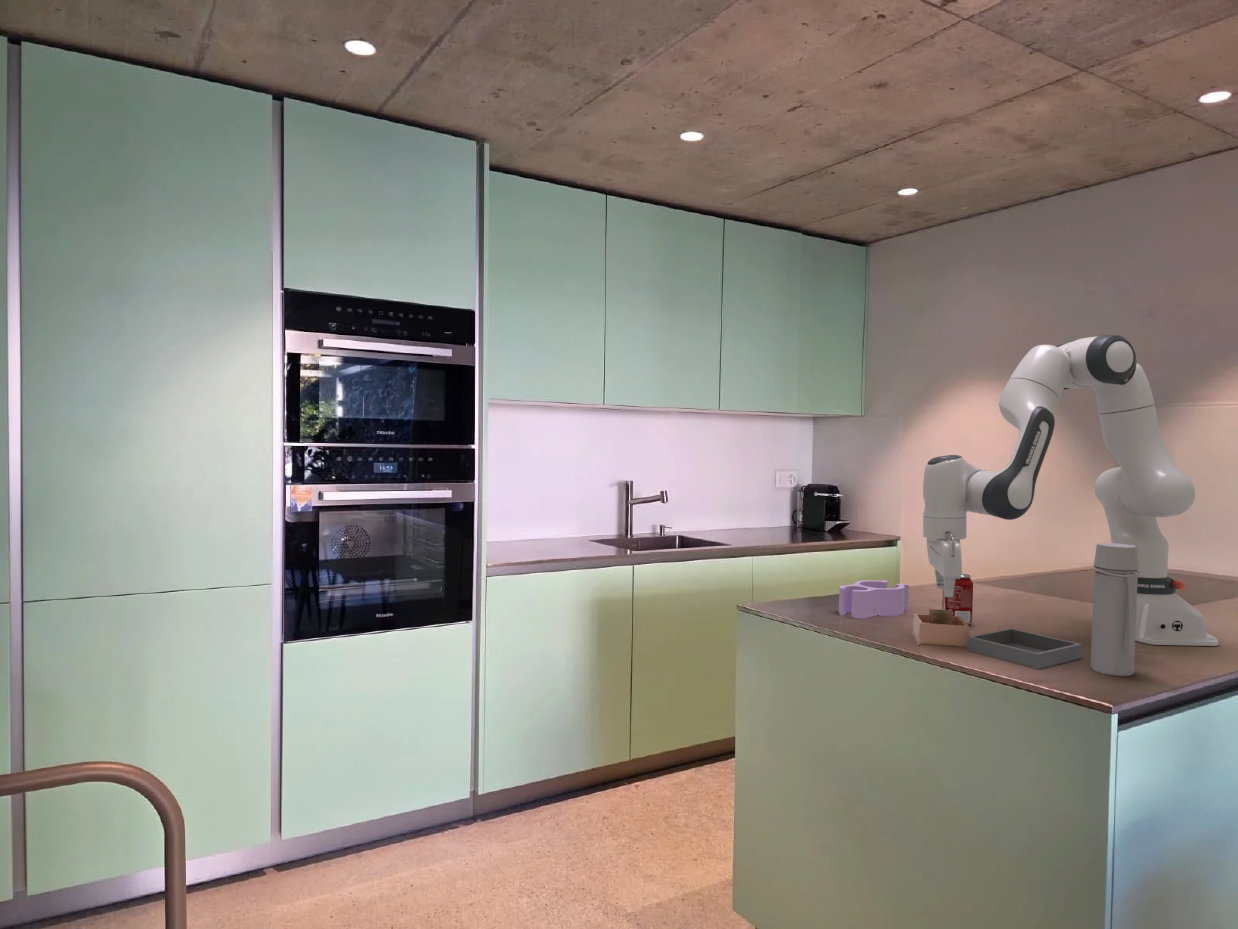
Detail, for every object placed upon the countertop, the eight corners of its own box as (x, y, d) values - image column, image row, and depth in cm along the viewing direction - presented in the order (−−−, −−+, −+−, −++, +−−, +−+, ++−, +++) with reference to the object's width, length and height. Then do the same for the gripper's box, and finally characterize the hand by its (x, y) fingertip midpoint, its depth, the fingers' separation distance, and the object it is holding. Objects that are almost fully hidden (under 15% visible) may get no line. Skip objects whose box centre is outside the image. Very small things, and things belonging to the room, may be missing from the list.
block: (947, 637, 180) (948, 610, 180) (951, 641, 176) (951, 614, 176) (928, 635, 181) (929, 609, 180) (931, 640, 177) (932, 613, 177)
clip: (866, 622, 198) (867, 593, 197) (826, 612, 208) (827, 585, 208) (916, 612, 209) (917, 586, 209) (876, 603, 219) (877, 578, 219)
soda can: (974, 628, 192) (976, 578, 192) (944, 626, 194) (946, 576, 193) (968, 621, 199) (969, 573, 198) (939, 620, 200) (940, 571, 200)
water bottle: (1080, 668, 160) (1085, 542, 159) (1119, 668, 160) (1124, 542, 159) (1109, 682, 151) (1114, 549, 150) (1151, 683, 151) (1156, 549, 150)
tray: (1010, 644, 178) (1010, 628, 178) (1081, 661, 165) (1081, 644, 165) (966, 653, 170) (967, 636, 169) (1038, 672, 157) (1038, 654, 156)
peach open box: (959, 638, 182) (960, 616, 182) (968, 649, 172) (969, 626, 172) (912, 635, 184) (913, 613, 184) (918, 646, 174) (919, 623, 174)
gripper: (969, 535, 166) (969, 602, 167) (951, 524, 186) (951, 584, 187) (937, 535, 168) (937, 601, 168) (922, 524, 188) (922, 583, 188)
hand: (944, 592), depth 178 cm, fingers open, 8 cm apart
